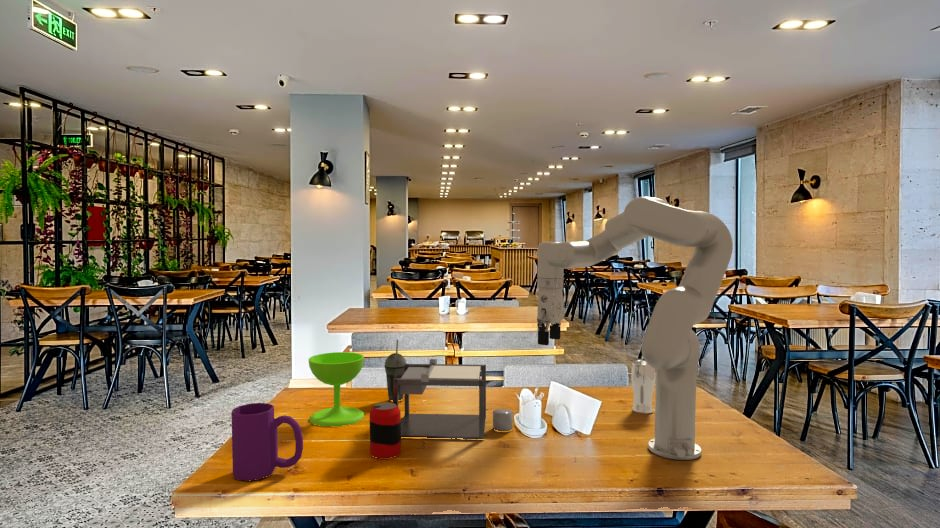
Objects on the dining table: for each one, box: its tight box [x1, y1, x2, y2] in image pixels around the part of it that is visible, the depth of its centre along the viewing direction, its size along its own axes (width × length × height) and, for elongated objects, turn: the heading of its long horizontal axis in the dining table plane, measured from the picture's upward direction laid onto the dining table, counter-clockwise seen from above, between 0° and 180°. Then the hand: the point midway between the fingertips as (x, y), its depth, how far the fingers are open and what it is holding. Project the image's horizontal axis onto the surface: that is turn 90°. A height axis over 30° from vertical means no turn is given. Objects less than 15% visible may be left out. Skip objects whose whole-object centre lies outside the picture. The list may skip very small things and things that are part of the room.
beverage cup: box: [383, 339, 407, 401], centre depth 182 cm, size 7×7×20 cm
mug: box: [231, 402, 304, 482], centre depth 126 cm, size 9×16×15 cm, turn 94°
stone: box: [492, 408, 514, 431], centre depth 155 cm, size 6×6×5 cm
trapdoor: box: [400, 364, 481, 395], centre depth 155 cm, size 15×21×5 cm
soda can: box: [369, 402, 402, 458], centre depth 138 cm, size 8×8×12 cm
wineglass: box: [308, 351, 365, 427], centre depth 165 cm, size 16×16×18 cm
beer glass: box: [630, 359, 656, 415], centre depth 171 cm, size 7×7×15 cm
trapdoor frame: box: [392, 358, 487, 440], centre depth 156 cm, size 18×24×18 cm
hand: (549, 341), depth 164 cm, fingers open, 9 cm apart
